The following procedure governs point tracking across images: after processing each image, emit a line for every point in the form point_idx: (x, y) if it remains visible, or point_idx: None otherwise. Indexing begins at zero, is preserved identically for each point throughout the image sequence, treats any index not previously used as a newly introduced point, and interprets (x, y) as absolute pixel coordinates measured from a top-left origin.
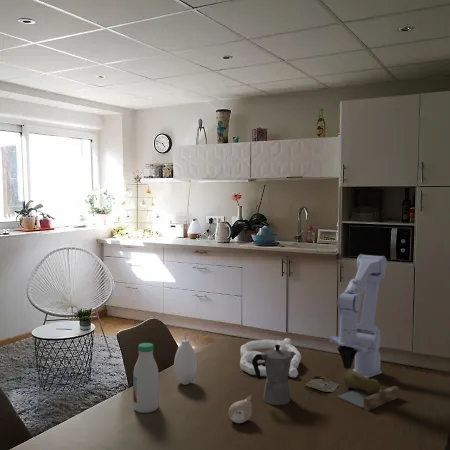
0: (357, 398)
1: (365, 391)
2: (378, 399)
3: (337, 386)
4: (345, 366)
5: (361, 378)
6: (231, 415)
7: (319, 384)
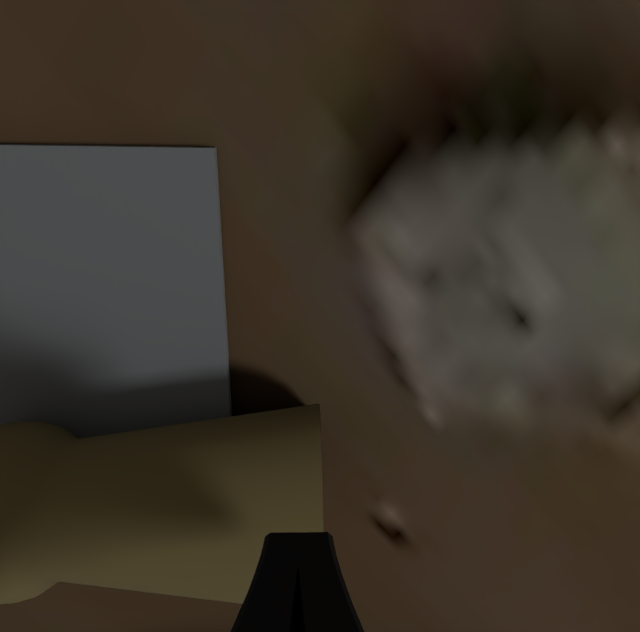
0: (57, 281)
1: None
2: None
3: (401, 368)
4: (291, 554)
5: (114, 527)
6: None
7: (562, 266)
